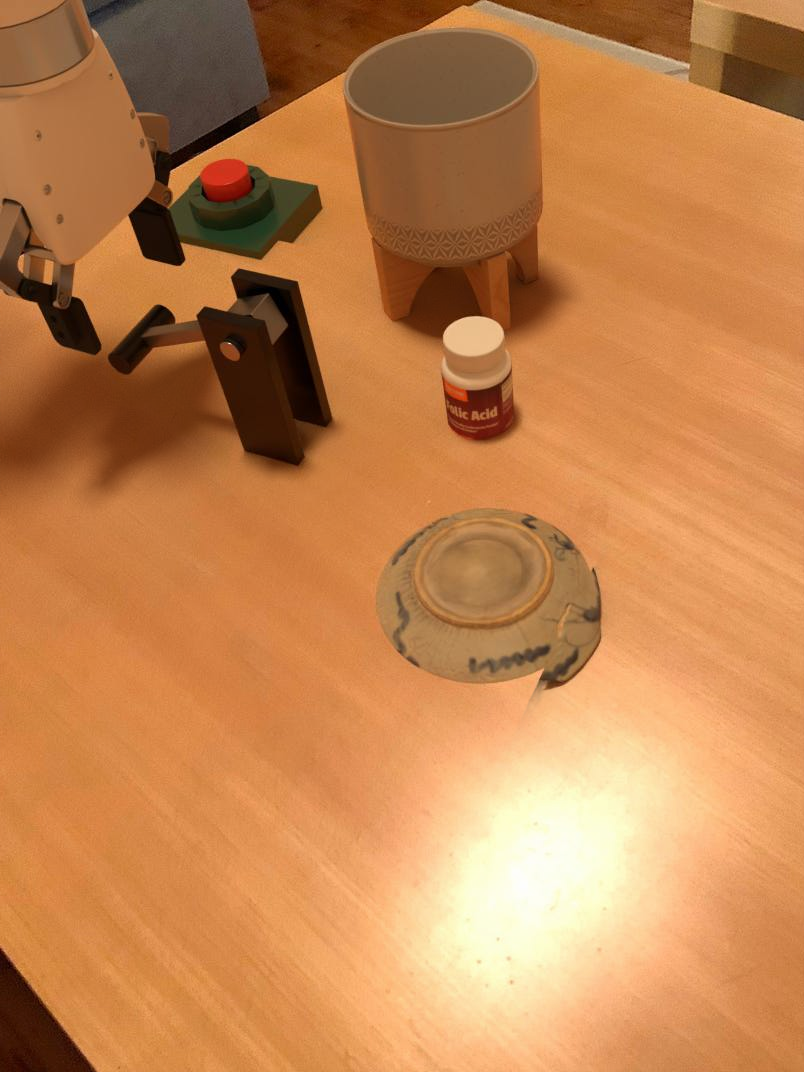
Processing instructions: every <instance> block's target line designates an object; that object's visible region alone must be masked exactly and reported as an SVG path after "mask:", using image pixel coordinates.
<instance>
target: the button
mask: <svg viewBox="0 0 804 1072" xmlns="http://www.w3.org/2000/svg"><path fill="white" fill-rule="evenodd" d="M247 165H248V164H247V163H245V162H244V161H243V160H240V159H237V158H222V159H218V160H216V161H212V162H210V163H209V164H207V165H206V166H205V167H204V168H203V169H201V171H200V173H199V175H200V178H201V181H202V185H203V188H204V191H205V194H206V197H207V199H208V200H209V201H212V202H217V203H224V202H232V201H236V200H238V199H241V198H243V197H245V196H247V195H248V194H249V193H250V192H251V191H252V188H253V185H252V181H251V178H250V174H249V170H248V167H247Z"/></svg>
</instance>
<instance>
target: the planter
mask: <svg viewBox="0 0 804 1072" xmlns="http://www.w3.org/2000/svg"><path fill="white" fill-rule="evenodd" d="M540 86H541V84H540V65H539V60H538V58H537V56H536V54H535V53H534V51H532V49H531V48H530V47H529V46H528V45H527V44H525V43H524V42H523V41H521V40H519V39H518V38H515V37H513V36H511V35H508V34H506V33H503V32H500V31H495V30H493V29H486V28H482V27H472V26H471V27H470V26H444V27H432V28H425V29H421V30H416V31H412V32H407V33H403V34H401V35H398V36H394V37H392V38H390V39H386V40H383V42H380V43H378V44H376V45H374V46H373V47H371V48H369V49H368V50H366V51H364V52H363V53H362V54H361V55H359V56H358V57H357V58H355V60H354V61H353V62H352V63H351V64H350V65H349V67H348V68H347V69H346V72H345V74H344V76H343V79H342V94H343V98H344V99H343V100H344V105H345V110H346V115H347V122H348V127H349V132H350V137H351V142H352V150H353V155H354V160H355V165H356V166H355V167H356V172H357V177H358V181H359V188H360V193H361V199H362V204H363V205H362V206H363V210H364V216H365V221H366V225H367V229H368V232H369V233H370V235H371V238H370V240H371V245H372V250H373V257H374V262H375V268H376V273H377V278H378V284H379V290H380V295H381V301H382V302H381V303H382V307H383V312H384V313H385V315H386V316H387V317H388V318H389V320H390V321H391V322H395V321H397V320H400V319H403V318H405V317H407V316H410V312H411V308H412V305H413V301H414V299H415V296H416V294H417V292H418V290H419V289H420V287H421V285H422V284H423V282H424V281H425V280H426V279H427V277H428V276H429V275H430V274H431V273H432V272H433V271H434V270H435V269H436V268H459V267H461V268H462V270H463V271H464V273H465V276H466V277H467V279H468V282H469V284H470V286H471V287H472V290H473V292H474V296H475V297H476V300H477V303H478V307H479V310H480V313H481V317H487V318H490V319H492V320H494V321H496V322H497V323H498V324H499V325H500V326H501V327H502V329H503V331H504V332H505V331H506V330H509V329H511V327H512V323H511V307H510V290H509V289H510V288H509V275H508V259H507V253H509V254H510V255H509V256H510V257H511V259H512V260H513V263H514V266H515V274H516V275H517V277H518V278H519V279H520V280H521V281H522V282H523V283H524V284H528V283H531V282H533V281H536V280H539V278H540V271H539V269H540V268H539V243H538V241H539V240H538V237H539V236H538V223H539V222H540V219H541V217H542V214H543V207H544V195H543V194H544V193H543V160H542V159H543V158H542V157H543V156H542V123H541V121H542V120H541V116H542V115H541V87H540Z"/></svg>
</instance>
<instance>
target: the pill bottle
mask: <svg viewBox="0 0 804 1072" xmlns="http://www.w3.org/2000/svg"><path fill="white" fill-rule="evenodd" d="M442 347H443V355H444V356H443V357H442V360H441V364H440V374H441V380H442V381H441V382H442V387H443V389H442V390H443V396H444V402H445V403H444V404H445V409H446V410H445V411H446V419H447V424H448V426H449V428H450V429H451V431H452V432H453V433H455V435H457V436H459V437H461V438H464V439H468V440H474V441H481V440H483V441H484V440H489V439H492V438H495V437H497V436H501V435H502V434H504V433H505V432H507V430H508V429H509V428H510V427H511V425H512V424H513V422H514V421H515V414H516V413H515V402H514V383H513V361H512V358H511V357H512V356H511V355H510V353H509V351H508V350H507V348H506V338H505V330H504V331H503V329H502V327H501V326H500V325H499V324H498V323H497V322H496V321H494V320H492V319H490V318H487V317H483V316H479V315H475V316H465V317H462V318H460V319H459V318H458V319H457V320H455V321H453V322H452V323H451V324H449V325H448V326H447V327H446V329H445V330H444V332H443V335H442Z"/></svg>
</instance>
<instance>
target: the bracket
mask: <svg viewBox="0 0 804 1072" xmlns="http://www.w3.org/2000/svg"><path fill="white" fill-rule="evenodd" d="M230 280H231V283H232V286H233V290H234V293H235V297H236V300H237V299H239V298H244V297H250V296H256V295H262V294H268V293H269V294H270V296H271V297H272V299H273V301H274V302H275V304H276V306H277V307H278V309H279V310H280V312H281V314H282V315H283V317H284V319H285V320H286V322H287V323H288V326H287V328H286V329H285V330H284V331H283V333H282V334H281V335H280V336H279V338H278V339H277V340H276V341H275V342H274V344H273V345H272V343H271V339H270V336H269V332H268V329H267V326H266V322H265V320H261V319H257V318H252V317H248V316H244V315H240V314H236V313H231V312H227V311H228V310H223V309H219V308H214V307H209V306H206V305H205V306H203V307H202V308H201V309H200V310H199V312H198V313H196V314H195V315H196V316H195V317H196V320H198V322H199V325H200V328H201V331H202V334H203V337H204V339H205V341H204V342H205V345H206V347H207V350H208V353H209V357H210V358H211V361H212V364H213V368H214V370H215V373H216V376H217V379H218V381H219V385H220V387H221V390H222V393H223V396H224V398H225V402H226V404H227V406H228V409H229V412H230V415H231V417H232V420H233V423H234V426H235V429H236V432H237V434H238V438H239V440H240V443H241V445H242V448H243V451H244V452H245V453H251V454H253V455H257V456H261V457H265V458H267V459H271V460H275V461H279V462H281V463H285V464H288V465H292V466H295V467H299V466H300V465H301V463H302V461H303V460H304V459H305V458H306V455H305V451H304V449H303V446H302V445H303V444H302V441H301V439H300V434H299V431H298V429H297V425H296V421H300V422H303V423H307V424H311V425H315V426H318V427H322V428H327V427H328V426H329V424H330V423H331V422H332V420H333V414H332V411H331V407H330V403H329V398H328V395H327V391H326V388H325V383H324V379H323V375H322V372H321V368H320V363H319V359H318V355H317V352H316V348H315V344H314V339H313V336H312V332H311V328H310V325H309V324H310V323H309V320H308V315H307V312H306V308H305V304H304V300H303V296H302V292H301V288H300V284H299V280H294V279H290V278H285V277H280V276H276V275H271V274H266V273H262V272H258V271H254V270H249V269H245V268H239V267H238V268H237V269H236V270H235V271H234V272H233V274H232V275H231V276H230ZM295 420H296V421H295Z"/></svg>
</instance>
